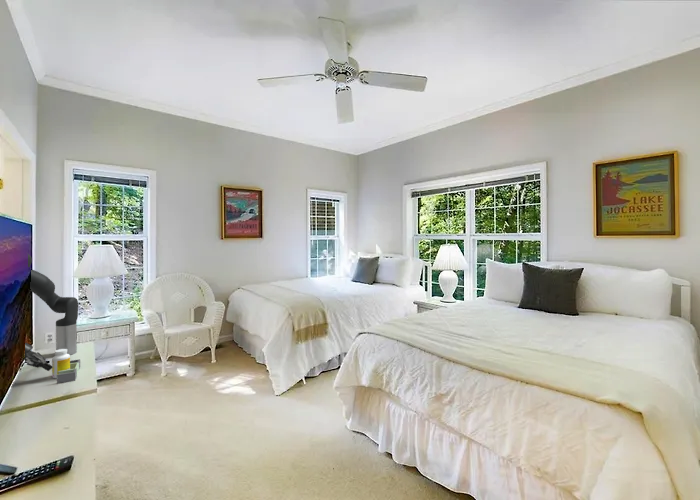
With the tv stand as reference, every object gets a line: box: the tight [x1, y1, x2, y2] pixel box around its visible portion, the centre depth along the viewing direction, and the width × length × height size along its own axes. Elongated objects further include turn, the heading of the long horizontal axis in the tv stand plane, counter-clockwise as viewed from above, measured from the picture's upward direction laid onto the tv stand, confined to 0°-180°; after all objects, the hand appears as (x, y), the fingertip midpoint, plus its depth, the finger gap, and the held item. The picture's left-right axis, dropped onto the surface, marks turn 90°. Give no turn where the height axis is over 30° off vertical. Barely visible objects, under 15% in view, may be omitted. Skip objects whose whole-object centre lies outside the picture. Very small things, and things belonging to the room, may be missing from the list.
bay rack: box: [56, 359, 81, 384], centre depth 163 cm, size 20×6×4 cm, turn 34°
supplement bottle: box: [51, 349, 71, 379], centre depth 161 cm, size 7×7×13 cm
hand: (50, 368), depth 159 cm, fingers closed
